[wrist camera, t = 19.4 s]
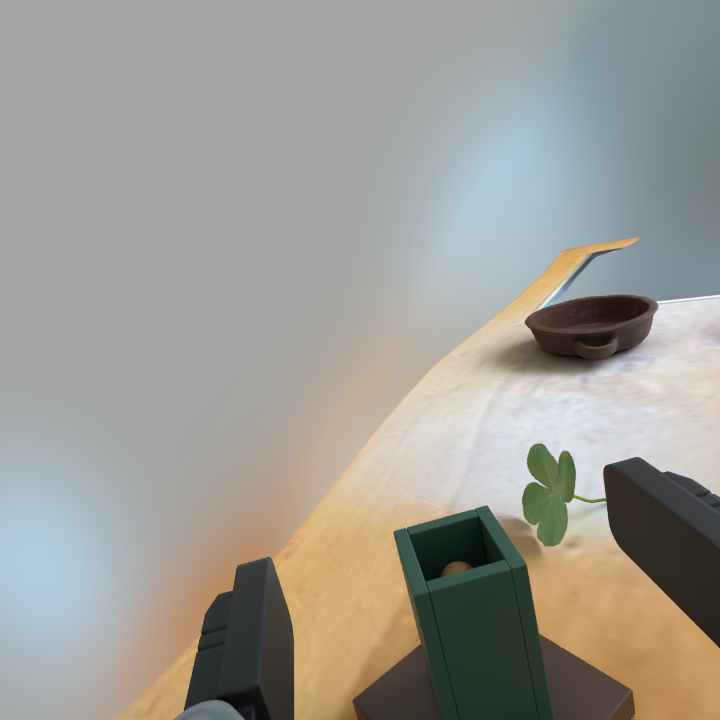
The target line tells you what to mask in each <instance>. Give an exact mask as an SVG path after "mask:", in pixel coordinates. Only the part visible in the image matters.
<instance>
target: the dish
mask: <svg viewBox="0 0 720 720" xmlns="http://www.w3.org/2000/svg"><path fill="white" fill-rule="evenodd" d="M657 309H658V304H657V302H655V301H654V300H652V299H650V298H646V297H641V296H635V295H609V296H595V297H585V298H579V299H575V300H570V301H567V302H563V303H559V304H556V305H553V306H549V307H546V308H543V309H541V310H538V311H536V312H534V313H533V314H531V315H530V316H529V317H528V318H527V319H526V320H525V324H526V325H527V327H528V328H530V329H531V331H532V333H533V335H534V337H535V339H536V340H537V342H538V344H539V345H540V346H541V347H542V348H543V349H544V350H546V351H548V352H551V353H556V354H560V355H568V356H581V357H583V358H586V359H591V360H599V359H604V358H608V357H610V356H611V355H613V353H614V352H617V351H621V350H624V349H627V348H630V347H632V346H634V345H636V344H638V343H640V342H641V341H642V340H644V339H645V338H646V337H647V335H648V334H649V332H650V329H651V325H652V320H653V315H654V313H655V312H656V311H657Z"/></svg>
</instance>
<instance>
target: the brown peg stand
mask: <svg viewBox="0 0 720 720" xmlns="http://www.w3.org/2000/svg"><path fill="white" fill-rule="evenodd" d="M470 569H473V567H472V566H471V565H469V564H467V563H465V562H462V561H455V562H452V563H450V564H448V565H447V566H446V567H445V568H444V570H443V572H442V575H441V577H445V576H448V575H452V574H455V573H459V572H463V571H466V570H470ZM539 637H540V643H541V649H542V655H543V660H544V666H545V672H546V677H547V683H548V689H549V694H550V700H551V706H552V712H553V717H554V720H630V719H631V718H632V717H633V715H634V714H635V707H634V699H633V691H632V690H631V689H630V688H628V687H626V686H625V685H623V684H621V683H620V682H618V681H616V680H615V679H613V678H611V677H610V676H608V675H606V674H605V673H603V672H602V671H600V670H598V669H597V668H595V667H593V666H592V665H590V664H588V663H587V662H585V661H583V660H582V659H580V658H578V657H577V656H575V655H573V654H572V653H570V652H569V651H567V650H565V649H564V648H562V647H560V646H559V645H557V644H555V643H554V642H552V641H550V640H549V639H547V638H545V637H544V636H542V635H540V634H539ZM353 704H354V708H355V711H356V714H357V718H358V720H442V718H441V715H440V711H439V708H438V704H437V701H436V697H435V694H434V690H433V687H432V683H431V680H430V677H429V673H428V670H427V666H426V662H425V658H424V654H423V650H422V646H421V644H420V645H419V646H418V647H417V648H415V649H414V650H413V651H412V652H411V653H409V654H408V655H407V656H406V657H404V658H403V659H402V660H401V661H400V662H398V663H397V664H396V665H395V666H393V667H392V668H391V669H390V670H389V671H387V672H386V673H385V674H384V675H383V676H381V677H380V678H379V679H378V680H376V681H375V682H374V683H373V684H372V685H370V686H369V687H368V688H367V689H365V690H364V691H363V692H362V693H361V694H359V695H358V696H357V697H356V698H355V699H353Z"/></svg>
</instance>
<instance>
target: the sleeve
mask: <svg viewBox="0 0 720 720" xmlns="http://www.w3.org/2000/svg"><path fill="white" fill-rule="evenodd" d="M394 537H395V541H396V545H397V549H398V553H399V557H400V561H401V565H402V569H403V573H404V577H405V581H406V585H407V589H408V593H409V597H410V601H411V605H412V609H413V613H414V617H415V621H416V625H417V629H418V633H419V637H420V641H421V646H422V650H423V654H424V658H425V662H426V666H427V670H428V673H429V677H430V680H431V683H432V687H433V690H434V694H435V697H436V701H437V704H438V708H439V711H440V715H441V718H442V720H554V717H553V712H552V706H551V700H550V694H549V689H548V683H547V677H546V672H545V666H544V660H543V655H542V649H541V643H540V637H539V632H538V626H537V620H536V615H535V609H534V603H533V598H532V592H531V586H530V580H529V575H528V569H527V564H526V563H525V561H524V560H523V558H522V557H521V555H520V554H519V552H518V551H517V549H516V548H515V546H514V545H513V543H512V542H511V540H510V539H509V537H508V536H507V534H506V533H505V531H504V530H503V528H502V527H501V525H500V524H499V522H498V521H497V519H496V518H495V516H494V515H493V513H492V512H491V510H490V509H489V507H488V506H483V507H479V508H476V509H475V510H469V511H466V512H462V513H458V514H455V515H451V516H447V517H444V518H440V519H436V520H433V521H429V522H425V523H422V524H418V525H415V526H411V527H408V528H407V529H406V528H404V529H400V530H396V531H394ZM455 561H462V562H465V563H467V564H469V565H471V566H472V567H473V569H470V570H466V571H463V572H459V573H455V574H452V575H448V576H445V577H441V575H442V572H443V570H444V568H445V567H446V566H447V565H448V564H450V563H452V562H455Z"/></svg>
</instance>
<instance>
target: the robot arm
mask: <svg viewBox="0 0 720 720" xmlns="http://www.w3.org/2000/svg"><path fill="white" fill-rule="evenodd" d="M603 476H604V485H605V493H606V502H607V510H608V519H609V525H610V529H611V532H612V534H613V536H614V539H615V540H616V542H617V544H618V545H619V547H620V548H621V549H622V550H623V551H624V552H625V553H626V554H627V555H628V556H629V557H630V558H631V559H632V560H633V561H634V562H635V563H636V564H637V565H638V566H639V567H640V568H641V569H642V570H643V571H644V572H645V573H646V574H647V575H648V576H649V577H650V578H651V579H652V580H653V581H654V582H655V583H656V584H657V585H658V586H659V587H660V588H661V589H662V590H663V592H664V593H665V594H666V595H667V596H668V597H669V598H670V599H671V600H672V601H673V602H674V603H675V604H676V605H677V606H678V607H679V608H680V609H681V610H682V611H683V612H684V613H685V614H686V615H687V616H688V617H689V618H690V619H691V620H692V621H693V622H694V623H695V624H696V625H697V626H698V627H699V628H700V629H701V630H702V631H703V632H704V633H705V634H706V635H707V636H708V637H709V638H710V639H711V640H712V641H713V642H714V643H715V644H716V645H717V646H718V647H719V648H720V497H719V496H717V495H715V494H711V492H710V491H709V490H708V489H706V488H705V487H703V486H702V485H700V484H699V483H697V482H695V481H694V480H692V479H690V478H687V477H684V476H681V475H678V474H675V473H672V472H669V471H667V472H663V473H662V472H660V471H659V470H657V469H656V468H655V467H653V466H652V465H650V464H649V463H647V462H646V461H644V460H643V459H641V458H639V457H635V458H631V459H627V460H624V461H620V462H616V463H613V464H609V465H606V466H605V468H604V471H603ZM201 634H202V636H200V640H199V644H198V652H197V653H196V658H195V662H194V667H193V671H192V676H191V680H190V685H189V689H188V694H187V698H186V703H185V707H184V712H182V713H181V714H180V715H178V716H177V717H176V718H175V719H174V720H294V636H293V628H292V622H291V618H290V614H289V610H288V607H287V604H286V601H285V598H284V595H283V591H282V588H281V585H280V582H279V579H278V576H277V573H276V570H275V566H274V564H273V561H272V559H271V558H270V557H267V558H263V559H260V560H256V561H252V562H248V563H245V564H241V565H238V566H237V569H236V575H235V581H234V587H233V591H230V592H226V593H222V594H219V595H218V596H217V597H216V599H215V600H214V602H213V603H212V605H211V606H210V607H209V609H208V610H207V612H206V613H205V618H204V622H203V626H202V631H201Z"/></svg>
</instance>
